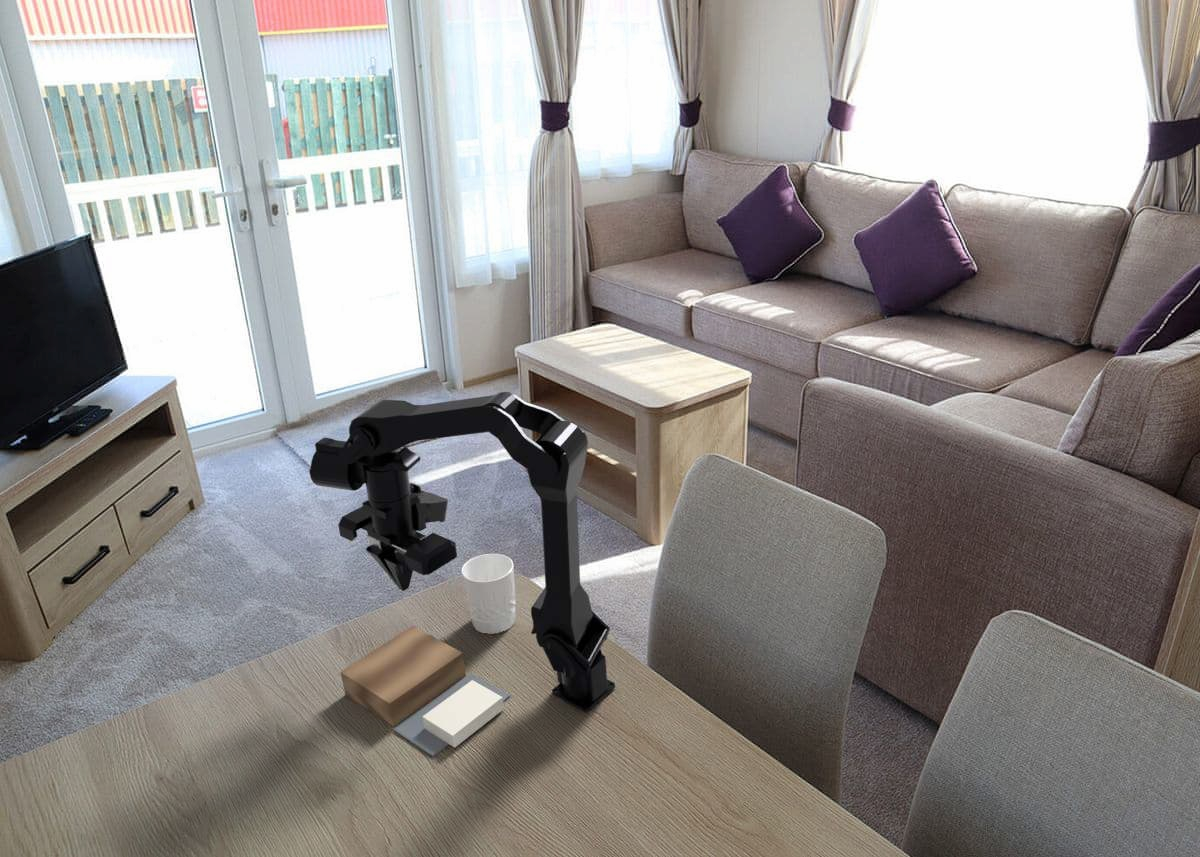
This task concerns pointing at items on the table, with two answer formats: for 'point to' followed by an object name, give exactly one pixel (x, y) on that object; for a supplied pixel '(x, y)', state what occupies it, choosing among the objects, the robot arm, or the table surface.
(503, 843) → the table surface
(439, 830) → the table surface
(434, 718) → the white sticky note pad
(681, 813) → the table surface
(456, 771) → the table surface
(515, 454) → the robot arm
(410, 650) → the tan beveled block
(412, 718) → the mat
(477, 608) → the white cup
